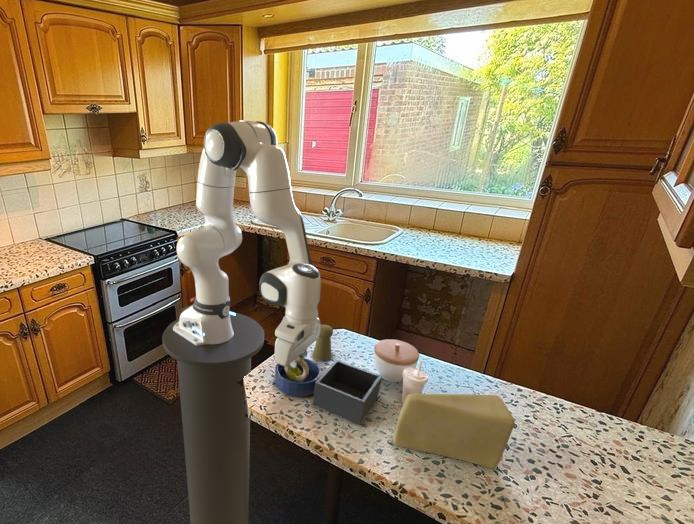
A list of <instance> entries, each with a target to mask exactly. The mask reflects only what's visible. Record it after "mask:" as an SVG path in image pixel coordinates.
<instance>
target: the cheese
mask: <svg viewBox="0 0 694 524" xmlns="http://www.w3.org/2000/svg"><path fill="white" fill-rule="evenodd" d="M515 424H516V420H515V418H514V416H513V414H512V413H511V412H510V410H509V408H508V407H507V405H506V404H505V401H504V400H503V399H502V398H501V396H499V395H498V394H475V393H474V394H473V393H421V394H409V395H408V396H407V397H406V399H405V402H404V404H403V403H402V408H401V409H400V412H399V414H398V418H397V420H396V424H395V429H394V433H393V438H392V442H393V444H394V446H397V447H401V448H404V449H405V448H406V449H410V450H415V451H418V452H423V453H424V452H425V453H429V454H433V455H437V456H441V457H447V458H451V459H456V460H459V461H463V462H467V463H471V464H475V465H478V466H482V467H485V468H490V469H494V470H495V469H497V468H498V465H499V463H500V461H501V459H502V457H503V454H504V452H505V449H506V447H507V444H508V442H509V440H510V437H511V435H512V432H513V430H514V427H515Z"/></svg>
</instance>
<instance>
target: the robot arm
mask: <svg viewBox="0 0 694 524" xmlns="http://www.w3.org/2000/svg"><path fill="white" fill-rule="evenodd" d="M239 168H240V169H242V170H243V171H244V172H245V174H246V177H247V183H248V195H249V204H250V208H251V212H252V214H253V215H254V217H256V219H257V220H259V221H260V222H261V223H263V224H265V225H268V226H271V227H274V228H275V227H276V228H277V229H279V230H280V231H281V232H282V233H283V235H284V238H285V242H286V248H287V252H288V255H289V261H288V263H287V264H286V265H283V266H280V267H276V268H273V269H271V270H268V271H265V272H264V273H262V275H261V276H260V279H259V282H258V286H259V287H258V288H259V293H260V295H261V297H262V299H264V301H266V302H267V303H268V304H271V305H274V306H278V307H284V308H285V313H284V314H285V315H284V316H283V317H282V320H281V322H280V323H279V325H278V326H277V327H276V329H275V331H274V335H275V337H276V340H275V342H274V361H275V363H276V364H277V363H278V364H280V365H282V366H285V367H287V366H288V365H289V364H290V366H291V367H293V368H296V367H297V366H298V361H297V358H298V356H299V355H300V354H301V353H303V352H305V351H307V352H308V348H310V347H311V346H312V345H313V344H314V343H316V341H317V339H318V338H319V335H320V325H321V319H320V317H319V309H318V305H319V303H320V300H321V291H322V290H321V289H322V280H321V274H320V271H319V269H318V268H316V267H315V266H314V263H313V261H312V258H311V253H310V248H309V242H308V237H307V233H306V228H305V223H304V217H303V216H302V213H301V211H300V209H299V208H298V207H297V206H296V204H295V201H294V198H293V197H294V196H293V191H292V181H291V174H290V169H289V165H288V160H287V157H286V153H285V151H284V150H283V148H282V147H280V146H278V136H277V133H276V130H275V129H274V128H273V127H272V126H271V125H270V124H268V123H266V122H263V121H259V120H258V121H253V120H238V121H237V120H236V121H229V122H227V121H225V122H224V121H222V122H217V123H214V124H213V125H211V126H210V127H208V129H207V130H206V132H205V133H204V137H203V148H202V151H201V155H200V158H199V164H198V170H197V179H196V196H195V207H196V209H197V210H198V211H199V212H200V213H201V214H202V215H203V217H204V225H203V227H200V228H197V229H193V230H192V231H189V232H188V233H186V234H185V235H183V236H182V237H180V238H179V240H178V241H177V243H176V255H177V257H178V259H179V261H180V262H181V264H183V265H184V266H186V267H187V268H188V269H190V271H191V273H192V275H193V278H194V286H195V295H194V297H191V298H190V301H189V302H190V303H192V302H193V304H189V305H187V306H185V307H182V308H181V313H180V315H179V318H178V319H179V322H177V323H176V324H175V325H174V327H173V331H175V332H176V333H178V334H179V335H181V336H182V337H184V338H185V339H187V340H188V341H190V342H191V343H193V344H194V345H197V346H200V345H205V344H220V343H224V342H226V341H228V340H230V339H231V338H232V337H233V335H234V332H233V329H232V325H231V319H230V314H231V315H234V316H236V313H237V312H234V311H231V297H230V295H229V294H230V292H229V290H230V289H229V287H230V285H229V283H230V282H229V281H230V280H229V276H228V274H227V273H226V272H225V271H223V270H222V269H221V268H220V264H219V263H220V262H219V261H220V259H222V258H223V257H226V256H228V255H230V254H232V253H233V252H234V251H236V250H237V249H238V248H239V247H240V246H241V245H242V242H243V233H242V230H241V228H240V227H239V225H238V224H236V221H235V218H234V196H235V185H236V177H237V175H236V174H237V170H238V169H239ZM233 312H234V313H233ZM303 360H304V358H303Z"/></svg>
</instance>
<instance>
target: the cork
mask: <svg viewBox="0 0 694 524" xmlns="http://www.w3.org/2000/svg"><path fill="white" fill-rule="evenodd" d="M333 334H334V330H333V327H332V326H330V325H328V324H320V335H319V338H318V339H317V340H316V341H315V345H314V348H313V351H312V356H313V358H314V359H315V360H317V361H322V362H326V361H327V362H328V361H330V360H331V359H332V336H333Z"/></svg>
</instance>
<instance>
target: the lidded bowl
mask: <svg viewBox="0 0 694 524" xmlns="http://www.w3.org/2000/svg"><path fill="white" fill-rule="evenodd" d="M419 359H420V352H419V350H418V349H417V348H416V347H415V346H414V345H412V344H410V343H408V342H405V341H403V340H399V339H391V338H390V339H389V338H388V339H387V338H386V339H382V340H379V341H377V342H376V343H375V344H374V347H373V365H374V368H375V370H376V372H377V374H378V375H380V376H382V379H384V380H385V381H388V382H391V383H399V382H403V378H404V377H403V371H404V370H405V369H407V368H417V364H418V361H419Z"/></svg>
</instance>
